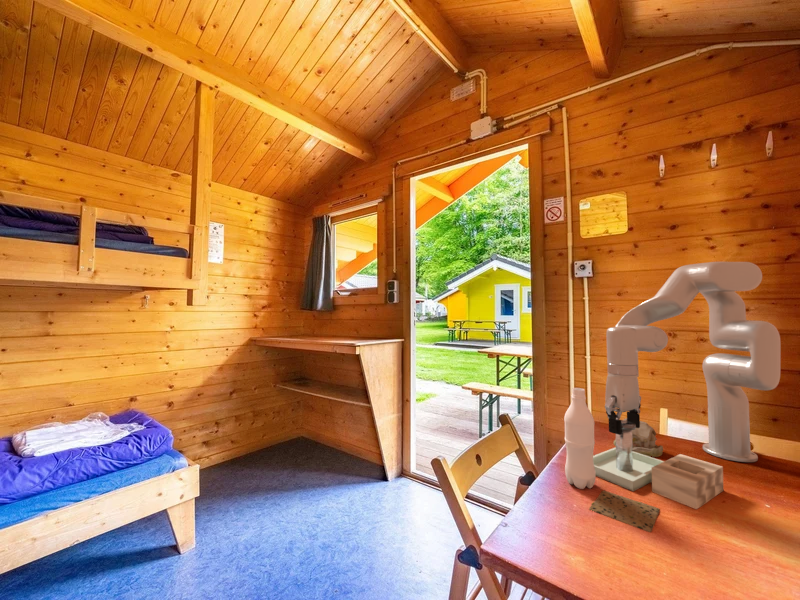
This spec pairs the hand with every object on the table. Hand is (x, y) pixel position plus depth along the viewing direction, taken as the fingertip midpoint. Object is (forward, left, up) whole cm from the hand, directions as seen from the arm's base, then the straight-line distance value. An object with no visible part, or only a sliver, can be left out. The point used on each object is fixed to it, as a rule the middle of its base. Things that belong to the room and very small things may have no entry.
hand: (624, 429), depth 99 cm
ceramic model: (-20, -7, -12) cm, 25 cm away
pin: (+1, 0, -11) cm, 11 cm away
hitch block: (-2, +14, -12) cm, 18 cm away
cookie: (+20, +10, -12) cm, 26 cm away
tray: (0, 0, -12) cm, 12 cm away
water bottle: (+18, -2, -12) cm, 22 cm away
